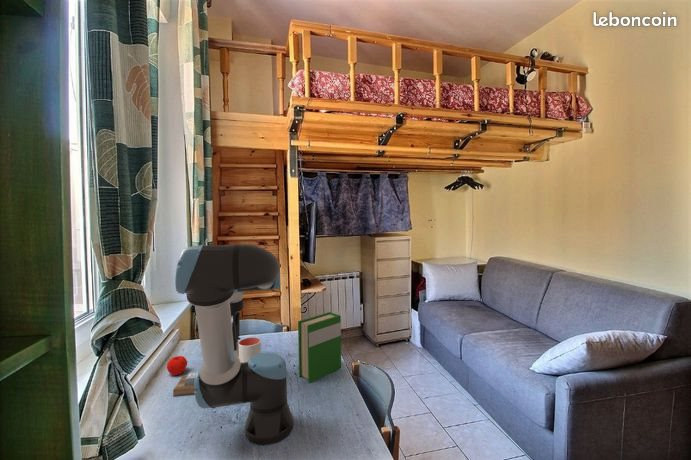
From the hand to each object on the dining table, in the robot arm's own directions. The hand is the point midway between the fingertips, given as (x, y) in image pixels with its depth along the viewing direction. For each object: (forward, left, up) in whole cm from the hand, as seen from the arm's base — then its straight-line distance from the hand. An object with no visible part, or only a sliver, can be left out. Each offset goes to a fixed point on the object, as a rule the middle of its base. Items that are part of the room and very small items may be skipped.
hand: (235, 356), depth 128 cm
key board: (0, +8, -11) cm, 14 cm away
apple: (+13, +27, -11) cm, 32 cm away
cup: (+18, -3, -11) cm, 21 cm away
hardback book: (+3, -35, -11) cm, 37 cm away
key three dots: (0, +16, -10) cm, 19 cm away
